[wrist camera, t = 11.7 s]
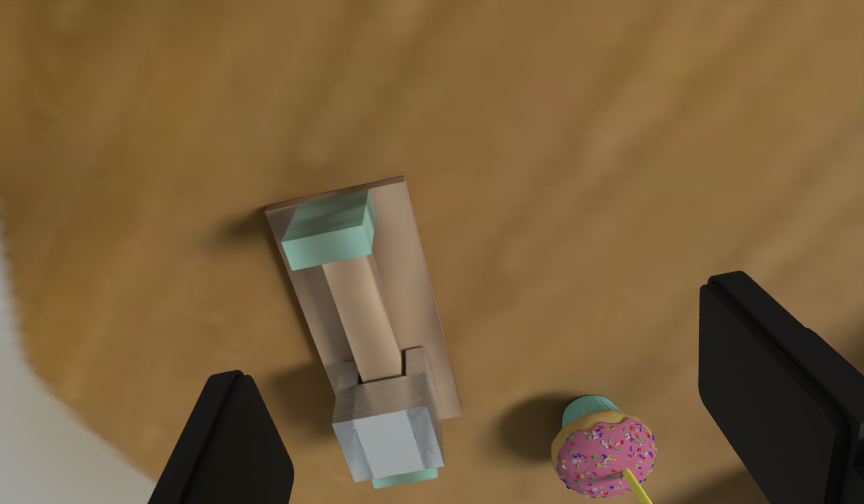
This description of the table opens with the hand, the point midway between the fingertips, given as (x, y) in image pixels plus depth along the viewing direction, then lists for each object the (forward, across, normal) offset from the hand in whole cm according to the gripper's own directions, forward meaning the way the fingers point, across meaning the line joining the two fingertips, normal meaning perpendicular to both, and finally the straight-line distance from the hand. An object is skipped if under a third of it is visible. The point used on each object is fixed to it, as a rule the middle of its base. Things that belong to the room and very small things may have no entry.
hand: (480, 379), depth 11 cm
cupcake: (+28, -8, +31) cm, 43 cm away
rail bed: (+28, +8, +16) cm, 33 cm away
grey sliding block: (+27, +8, +22) cm, 35 cm away
